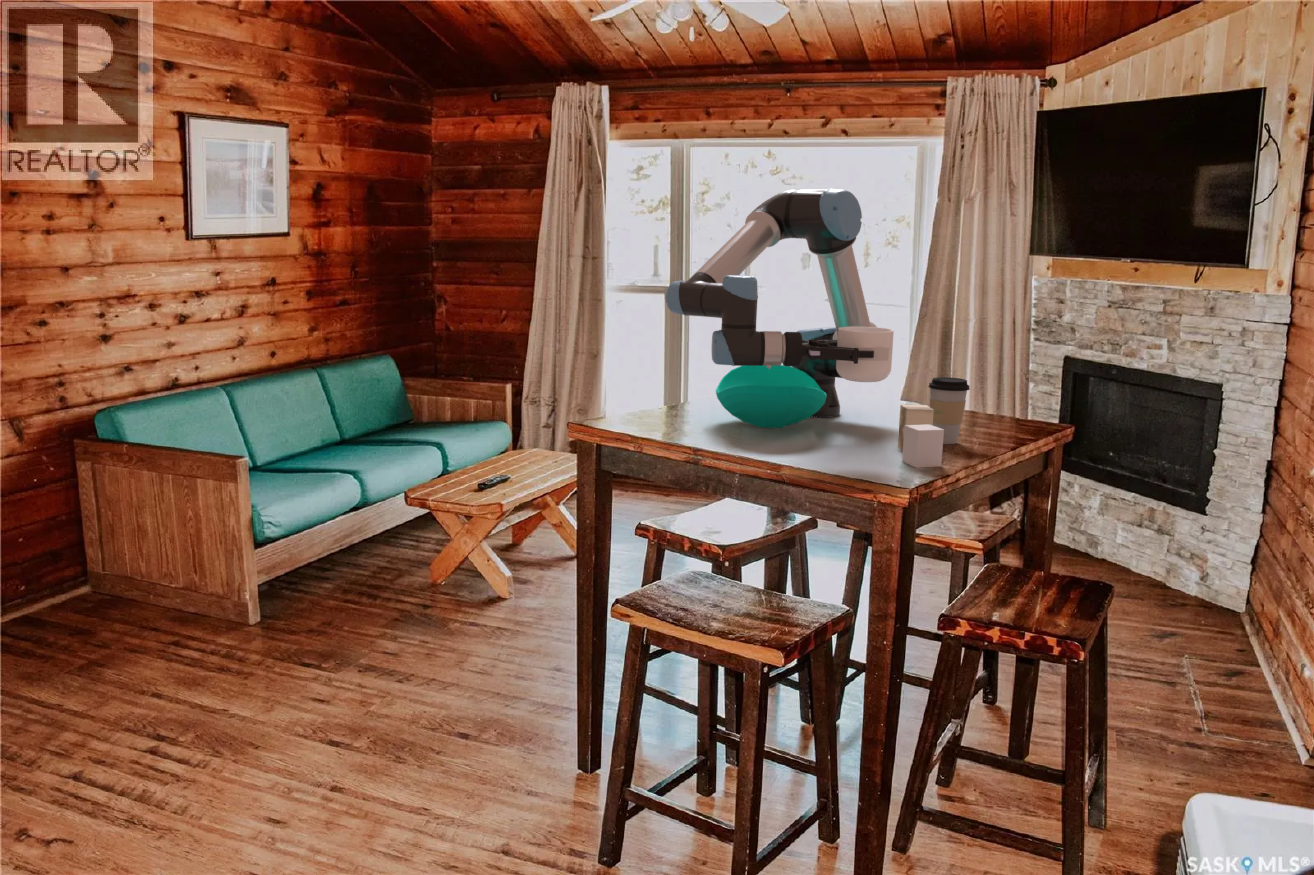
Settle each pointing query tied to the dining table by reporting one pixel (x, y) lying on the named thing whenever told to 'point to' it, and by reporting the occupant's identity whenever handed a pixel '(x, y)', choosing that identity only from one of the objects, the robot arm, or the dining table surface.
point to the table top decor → (770, 395)
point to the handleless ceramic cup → (865, 338)
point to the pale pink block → (922, 445)
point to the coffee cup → (948, 405)
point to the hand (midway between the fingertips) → (881, 350)
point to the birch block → (913, 418)
